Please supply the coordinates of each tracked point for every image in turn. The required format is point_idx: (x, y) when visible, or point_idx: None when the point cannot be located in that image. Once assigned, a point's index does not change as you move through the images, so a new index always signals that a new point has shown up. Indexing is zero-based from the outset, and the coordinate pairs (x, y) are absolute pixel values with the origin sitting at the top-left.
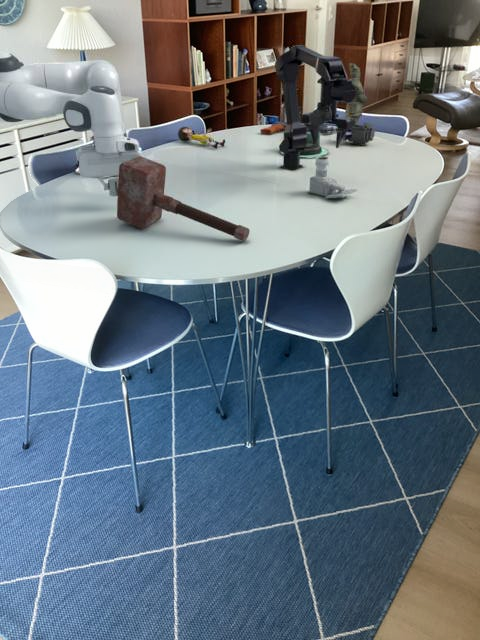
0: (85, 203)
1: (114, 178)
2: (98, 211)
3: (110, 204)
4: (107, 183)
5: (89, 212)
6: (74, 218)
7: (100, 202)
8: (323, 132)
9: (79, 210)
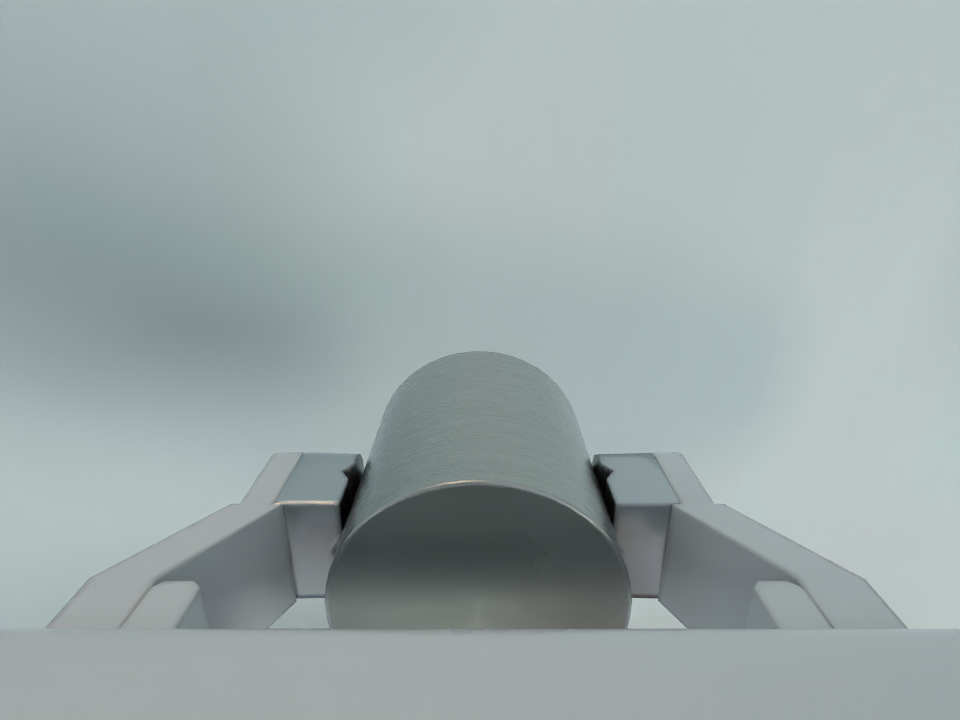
0: (37, 55)
1: (485, 507)
2: (268, 412)
3: (388, 203)
4: (326, 518)
5: (175, 417)
6: (63, 539)
7: (245, 71)
8: None
9: (41, 325)
